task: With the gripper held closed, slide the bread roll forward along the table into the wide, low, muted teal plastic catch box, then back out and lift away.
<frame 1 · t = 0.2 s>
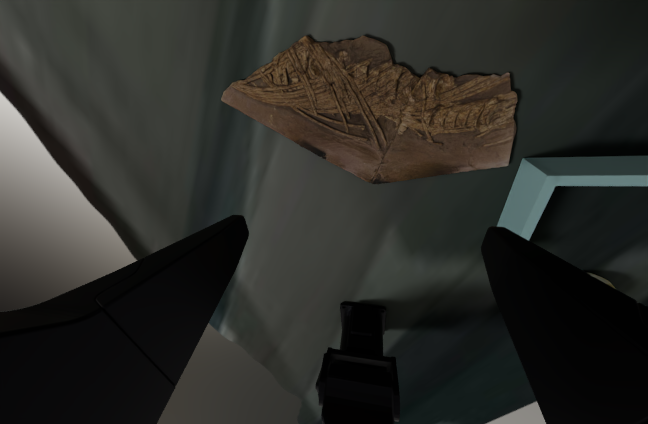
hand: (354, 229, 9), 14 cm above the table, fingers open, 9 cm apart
catch box: (618, 208, 21), on the table
brown carved slab: (362, 118, 21), on the table
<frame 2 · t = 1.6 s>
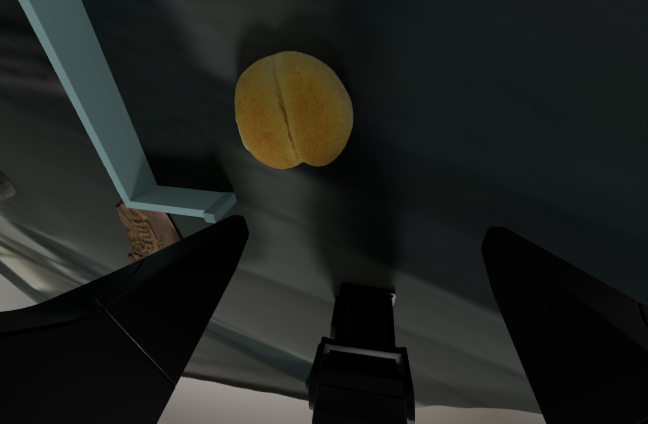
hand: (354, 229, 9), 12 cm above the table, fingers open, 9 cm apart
bread roll: (296, 115, 20), on the table
catch box: (164, 108, 21), on the table
brown carved slab: (168, 266, 35), on the table
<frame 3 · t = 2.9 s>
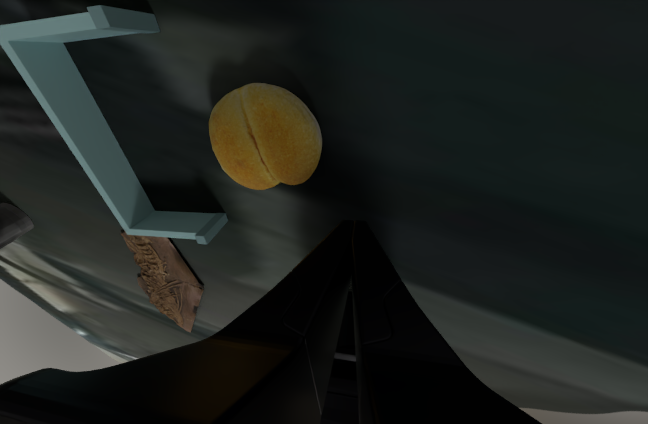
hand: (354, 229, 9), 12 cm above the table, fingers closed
beverage cup: (18, 215, 34), on the table
bread roll: (271, 138, 21), on the table
catch box: (152, 141, 23), on the table
brown carved slab: (174, 284, 37), on the table
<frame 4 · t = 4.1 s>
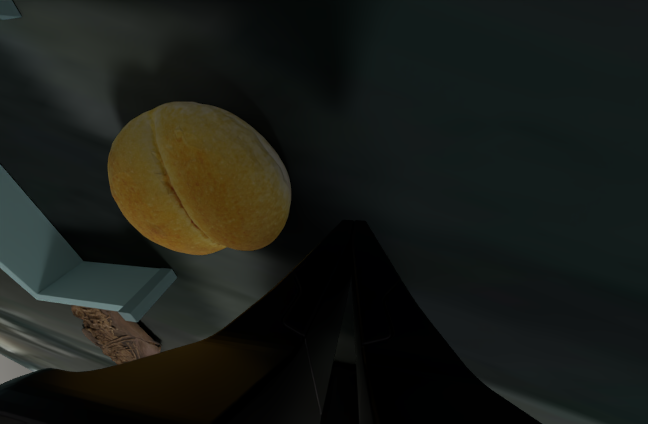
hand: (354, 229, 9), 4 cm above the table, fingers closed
bread roll: (219, 179, 14), on the table
catch box: (56, 178, 16), on the table
brown carved slab: (129, 336, 30), on the table
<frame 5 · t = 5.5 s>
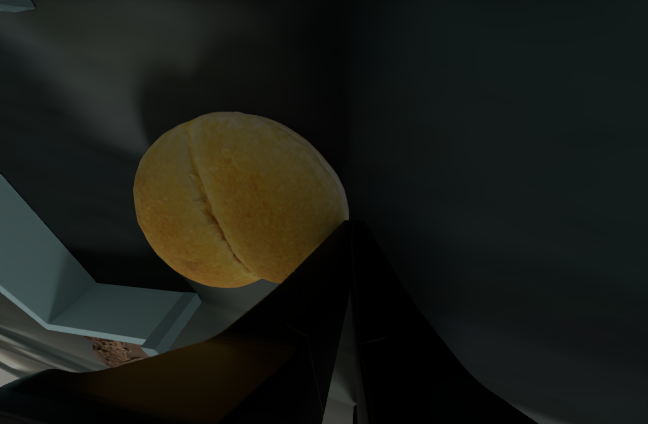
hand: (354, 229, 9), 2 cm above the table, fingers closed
bread roll: (257, 198, 12), on the table, touching gripper
catch box: (69, 196, 14), on the table
brown carved slab: (142, 356, 28), on the table
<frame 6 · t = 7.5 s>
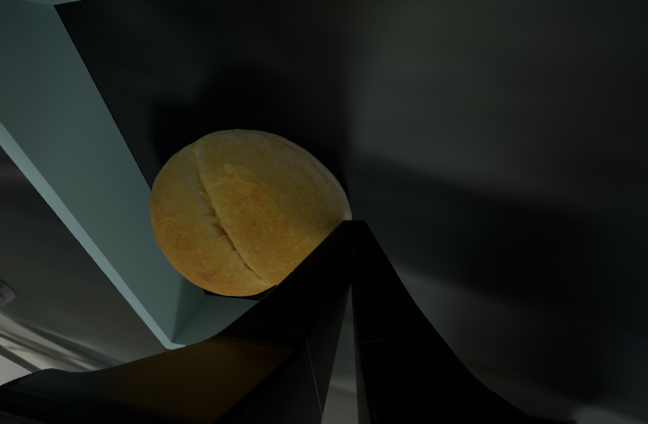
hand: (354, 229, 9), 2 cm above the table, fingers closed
bread roll: (264, 208, 13), on the table
catch box: (221, 200, 12), on the table
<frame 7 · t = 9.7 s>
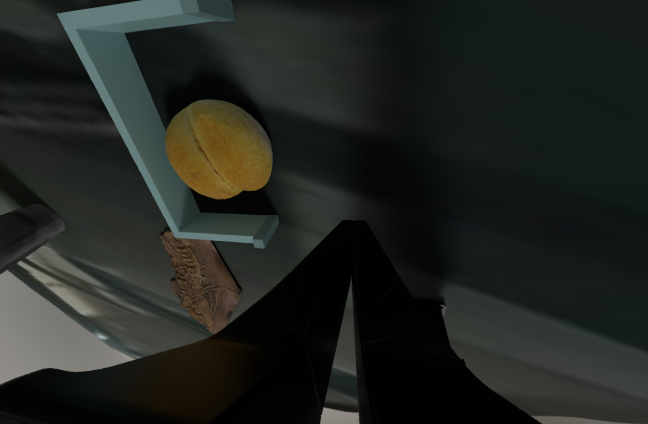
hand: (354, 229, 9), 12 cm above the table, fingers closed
beverage cup: (50, 217, 32), on the table
bread roll: (228, 149, 22), on the table
catch box: (208, 139, 21), on the table
brown carved slab: (209, 288, 35), on the table
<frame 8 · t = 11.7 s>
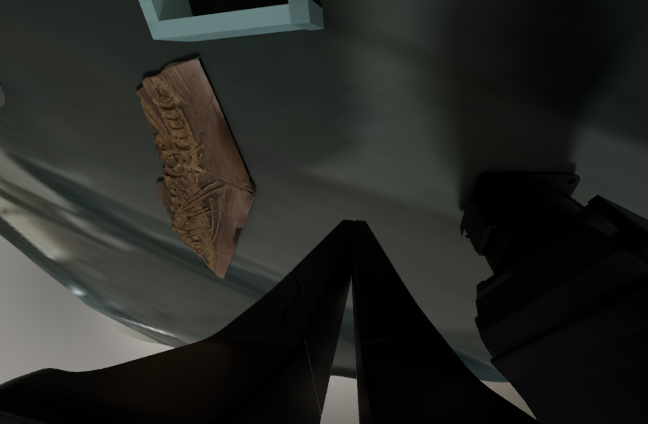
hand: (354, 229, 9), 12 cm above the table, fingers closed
brown carved slab: (209, 195, 26), on the table
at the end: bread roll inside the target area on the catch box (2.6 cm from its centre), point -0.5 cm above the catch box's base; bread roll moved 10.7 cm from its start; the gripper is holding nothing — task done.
